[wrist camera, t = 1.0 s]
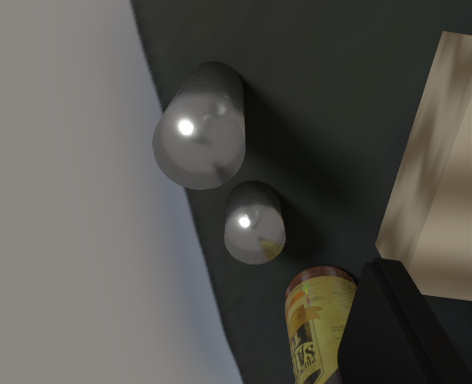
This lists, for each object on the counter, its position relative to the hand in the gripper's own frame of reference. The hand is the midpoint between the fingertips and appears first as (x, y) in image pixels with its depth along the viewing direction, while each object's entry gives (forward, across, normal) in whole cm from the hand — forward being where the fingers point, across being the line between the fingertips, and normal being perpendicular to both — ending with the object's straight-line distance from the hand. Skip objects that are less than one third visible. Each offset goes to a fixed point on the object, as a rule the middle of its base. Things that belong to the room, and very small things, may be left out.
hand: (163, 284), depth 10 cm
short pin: (+22, -4, +8) cm, 23 cm away
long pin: (+22, 0, 0) cm, 22 cm away
